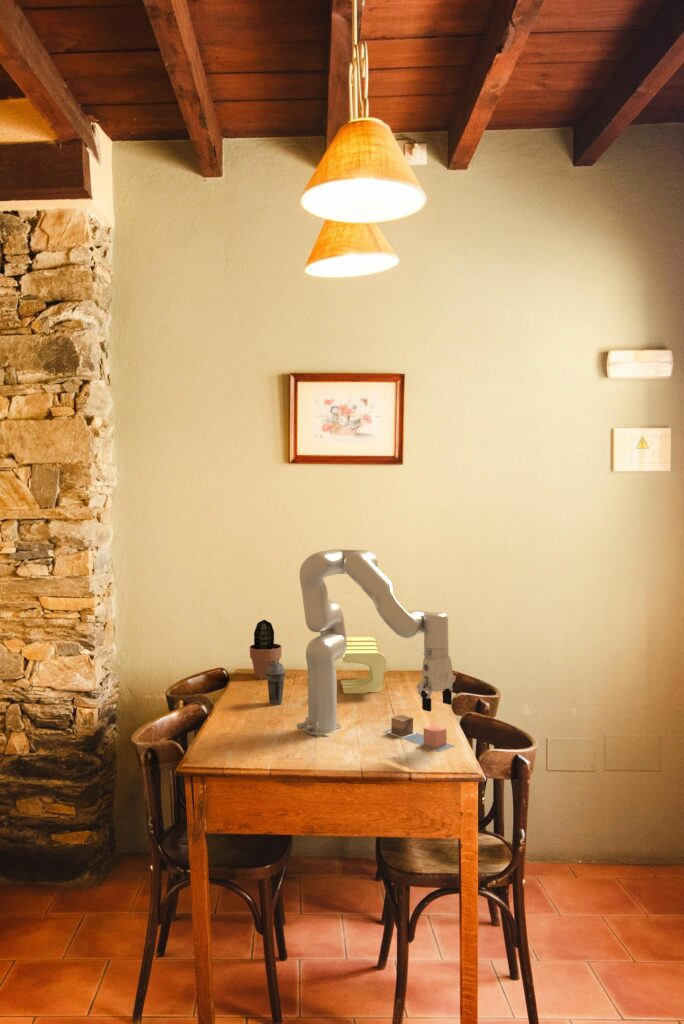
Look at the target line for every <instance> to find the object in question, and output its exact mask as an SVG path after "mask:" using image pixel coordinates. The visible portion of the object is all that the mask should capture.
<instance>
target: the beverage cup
mask: <svg viewBox="0 0 684 1024" xmlns="http://www.w3.org/2000/svg"><path fill="white" fill-rule="evenodd" d="M266 674H267V679H266V680H267V689H268V690H267V691H268V701H269V705H270V704H271V705H270V706H273V705H277V706H281V705H282V704H283V703H282V702H283V696H284V695H283V694H284V681H285V676H286V670H285V667H284V665H283V664H281V662H279V663H278V662H276V651H275V662H274V663H271V664H270V665H269V666H268V668H267V672H266ZM281 703H282V704H281ZM280 704H281V705H280Z"/></svg>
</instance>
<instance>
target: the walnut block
mask: <svg viewBox="0 0 684 1024" xmlns="http://www.w3.org/2000/svg"><path fill="white" fill-rule="evenodd" d="M390 719H391V723H390V724H391V727H390V728H391V733H394V734H396V735H399V736H402V737H403V736H406V735H409V734H412V733H413V732H414V718H413V717H411V716H408V715H405V714H399V715H395V716H393V717H390Z"/></svg>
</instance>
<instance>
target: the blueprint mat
mask: <svg viewBox="0 0 684 1024" xmlns="http://www.w3.org/2000/svg"><path fill="white" fill-rule="evenodd" d="M383 733H385V734H388V735H391V736H394V737H396V738H398V739H399V738H400V739H402V740H405V741H408V742H410V743H412V744H413V743H414V744H417V745H419V746H422V747H425V748H427V749H430V750H432V751H435V752H438V753H440V752H442V751H445V750H448V749H451V748H453V747H455V745H454V744H452V743H448V742H446V745H444V746H441V747H439V748H433V747H430V746H427V745H425V744H424V734H421V733H420V732H415V731H413V733H412V734H409V735H406V736H403V737H402V736H399V735H396V734H394V733H391V729H388V730H384V731H383Z"/></svg>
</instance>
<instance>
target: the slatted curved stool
mask: <svg viewBox="0 0 684 1024" xmlns="http://www.w3.org/2000/svg"><path fill="white" fill-rule="evenodd" d="M346 638H347V648H346V651H345V653H344V654H343V656H341V659H342V661H343V663H347V664H348V663H349V664H360V665H364V666H366V667H369V674H367V676H365V677H363V678H358V679H346V680H341V682H340V683H341V684H342V685H341V688H343V689H342V693H343V692H344V693H343V694H368V693H367V692H376V693H378V692H380V691H381V690H382V689H383V687H384V673H387V672H388V671H387V668H388V667H387V666H388V663H387V658H386V656H385V655H384V654H383V653H381V652H380V650H379V644H378V642H377V640H376V639H375V638H374V637H371V636H348V637H347V636H346Z"/></svg>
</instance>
